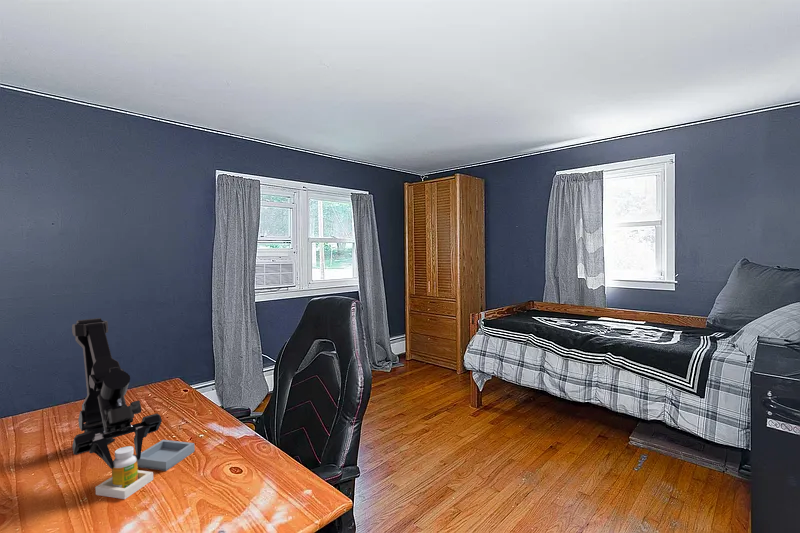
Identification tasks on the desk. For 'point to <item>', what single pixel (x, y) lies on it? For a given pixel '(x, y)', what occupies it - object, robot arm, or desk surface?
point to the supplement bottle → (124, 467)
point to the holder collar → (123, 493)
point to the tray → (165, 454)
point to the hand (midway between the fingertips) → (126, 463)
